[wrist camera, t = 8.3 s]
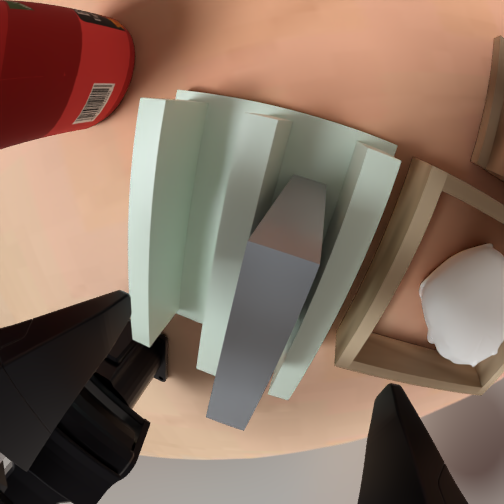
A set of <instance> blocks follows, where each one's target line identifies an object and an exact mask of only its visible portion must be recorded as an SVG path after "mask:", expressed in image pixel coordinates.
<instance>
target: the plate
mask: <svg viewBox="0 0 504 504" xmlns="http://www.w3.org/2000/svg"><path fill="white" fill-rule="evenodd" d="M325 201H326V184H323V183H320V182H317V181H314V180H311V179H308V178H305V177H301V176H298V175H295V174H294V175H293V176H292V178H291V179H290V180H289V182H288V183H287V185H286V186H285V188H284V189H283V190H282V192H281V193H280V195H279V196H278V198H277V199H276V200H275V202H274V203H273V205H272V206H271V208H270V209H269V210H268V212H267V213H266V215H265V216H264V218H263V219H262V220H261V222H260V223H259V225H258V226H257V228H256V229H255V231H254V232H253V233H252V235H251V236H250V238H249V239H248V241H247V245H246V249H245V253H244V257H243V261H242V266H241V270H240V274H239V278H238V282H237V287H236V291H235V295H234V299H233V303H232V308H231V312H230V316H229V320H228V324H227V329H226V333H225V337H224V341H223V346H222V350H221V354H220V359H219V363H218V367H217V371H216V376H215V380H214V384H213V389H212V393H211V397H210V402H209V406H208V410H207V415H206V417H207V418H209V419H212V420H215V421H217V422H220V423H223V424H226V425H228V426H231V427H234V428H237V429H240V430H243V431H244V429H245V428H246V426H247V424H248V422H249V420H250V418H251V416H252V414H253V412H254V410H255V408H256V406H257V404H258V402H259V400H260V398H261V396H262V394H263V392H264V390H265V388H266V386H267V384H268V382H269V380H270V378H271V376H272V374H273V372H274V370H275V368H276V366H277V363H278V361H279V359H280V357H281V355H282V353H283V350H284V348H285V346H286V344H287V342H288V339H289V337H290V335H291V333H292V330H293V328H294V326H295V324H296V321H297V319H298V317H299V314H300V312H301V310H302V307H303V305H304V303H305V300H306V298H307V295H308V293H309V291H310V288H311V286H312V283H313V281H314V278H315V276H316V273H317V271H318V268H319V266H320V259H321V249H322V239H323V227H324V215H325Z"/></svg>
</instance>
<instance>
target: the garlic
mask: <svg viewBox="0 0 504 504" xmlns="http://www.w3.org/2000/svg"><path fill="white" fill-rule="evenodd" d="M419 295H420V298H421V302H422V309H423V314H424V318H425V322H426V325H427V327H428V334H427V340H428V342H429V343H431V344H435V346H436V349H437V351H438V352H439V354H440V355H442V356H443V357H444V358H446V359H449V360H450V361H452V362H453V363H455V364H469V365H472V367H474V366H475V365H477V363H479V362H481V361H483V360H484V359H486V358H488V357H490V356H492V355H495V354H497V353H498V348H499V346H500V345H501V343H502V342H503V341H504V256H503V255H502V254H501V253H500V252H499V251H497V250H496V249H494V248H493V245H492V244H491V243H488V244H484V245H480V246H477V247H473V248H469V249H466V250H464V251H461V252H459V253H457V254H455V255H453V256H452V257H450V258H449V259H447V260H446V261H445V262H443V263H442V264H441V265H440V266H439V267H438V268H436V269H435V270H434V271H433V272H432V273H431V274H430V275H429V276H428V277H427V278H426V279H425V280H424V281H423V282H422V283H421V285H420V288H419Z"/></svg>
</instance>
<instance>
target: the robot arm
mask: <svg viewBox="0 0 504 504" xmlns="http://www.w3.org/2000/svg"><path fill="white" fill-rule="evenodd" d="M131 313H132V310H131V296H130V295H129V294H128V293H126V292H124V291H122V290H118V291H115V292H112V293H109V294H106V295H102V296H99V297H96V298H93V299H90V300H87V301H84V302H81V303H78V304H75V305H72V306H69V307H66V308H63V309H60V310H57V311H54V312H51V313H48V314H45V315H42V316H39V317H36V318H33V320H32V319H30V320H27V321H24V322H21V323H18V324H14V325H11V326H7V327H3V328H0V504H59V503H65V502H72V503H73V504H97V503H98V501H99V500H100V499H101V497H102V496H103V495H104V493H105V492H106V491H107V490H108V489H109V488H110V487H111V486H112V485H113V484H114V483H116V482H117V481H119V480H121V479H123V478H124V477H126V476H127V475H128V473H130V471H131V470H132V468H133V467H134V465H135V464H136V461H137V459H138V456H139V454H140V451H141V448H142V445H143V443H144V440H145V437H146V434H147V432H148V429H149V426H150V422H149V421H147V420H146V419H143V418H142V417H141V416H140V415H138V414H137V413H136V412H135V411H133V410H132V408H133V407H134V405H135V404H136V402H137V401H138V399H139V398H140V396H141V395H142V393H143V392H144V390H145V389H146V387H147V386H148V384H149V383H150V381H151V380H152V378H153V377H154V378H156V379H158V380H160V381H162V382H165V381H166V379H167V364H168V339H167V337H166V336H165V335H163V334H161V333H160V335H159V336H158V337H157V339H156V340H155V341H154V343H153V344H152V345H151V346H150V348H149V347H147V346H145V345H143V344H141V343H139V342H137V341H135V340H133V338H132V327H131V319H130V317H131ZM5 457H7V458H8V459H9V460H11V462H10V463H9V464H8V466H7V467H6V468H5V469H4V465H3V459H4V458H5ZM358 504H468V502H467V501H466V499H465V497H464V496H463V494H462V493H461V491H460V490H459V488H458V486H457V484H456V483H455V481H454V479H453V477H452V476H451V474H450V472H449V470H448V468H447V466H446V465H445V464H444V461H443V459H442V457H441V455H440V453H439V451H438V450H437V448H436V446H435V444H434V442H433V440H432V439H431V437H430V435H429V433H428V431H427V430H426V428H425V426H424V424H423V423H422V421H421V419H420V417H419V416H418V414H417V412H416V410H415V409H414V407H413V405H412V404H411V402H410V400H409V399H408V397H407V395H406V394H405V392H404V390H403V389H402V387H401V386H400V385H397V384H392V383H390V384H388V385H387V386H386V387H385V388H384V389H383V390H382V392H381V393H380V394H379V395H378V396H377V397H376V399H375V402H374V408H373V413H372V418H371V424H370V428H369V433H368V438H367V445H366V454H365V462H364V469H363V475H362V482H361V488H360V493H359V499H358Z"/></svg>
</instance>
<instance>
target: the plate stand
mask: <svg viewBox="0 0 504 504" xmlns="http://www.w3.org/2000/svg"><path fill="white" fill-rule="evenodd" d="M471 162H473V163H475V164H476V165H478V166H480V167H481V168H483V169H484V170H486V171H488V172H489V173H491V174H492V175H494V176H496V177H497V178H499V179H500V180H502V181H503V182H504V38H503V37H502V36H498V37H496V38H494V45H493V56H492V65H491V73H490V80H489V86H488V92H487V97H486V103H485V108H484V112H483V117H482V121H481V125H480V129H479V133H478V137H477V141H476V144H475V148H474V151H473V154H472V158H471Z"/></svg>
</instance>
